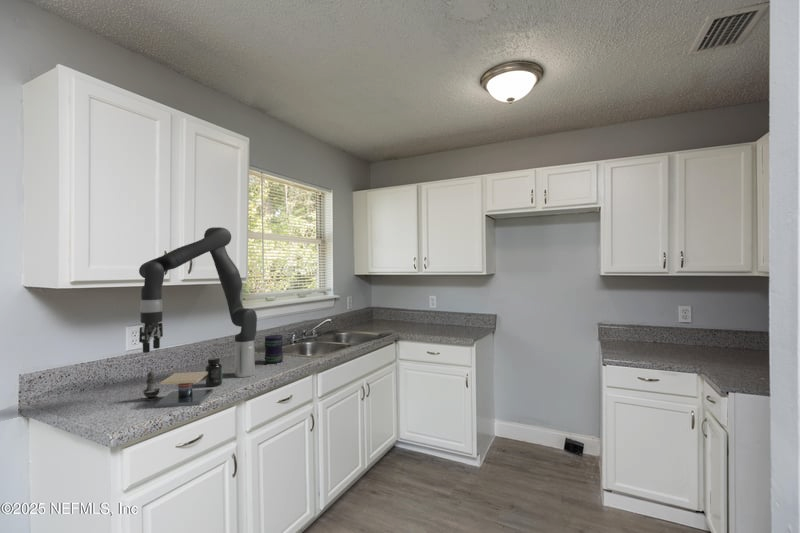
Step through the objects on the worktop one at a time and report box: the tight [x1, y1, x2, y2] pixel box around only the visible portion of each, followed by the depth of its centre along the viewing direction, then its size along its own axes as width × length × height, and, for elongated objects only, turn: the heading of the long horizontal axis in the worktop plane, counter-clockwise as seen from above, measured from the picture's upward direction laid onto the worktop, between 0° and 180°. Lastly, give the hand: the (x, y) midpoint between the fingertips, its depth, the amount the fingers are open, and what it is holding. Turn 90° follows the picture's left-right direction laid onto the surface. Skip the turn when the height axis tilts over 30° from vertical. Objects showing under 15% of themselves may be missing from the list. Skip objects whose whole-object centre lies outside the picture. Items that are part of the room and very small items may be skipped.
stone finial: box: [142, 369, 161, 402], centre depth 155 cm, size 6×6×12 cm
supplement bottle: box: [204, 357, 223, 388], centre depth 174 cm, size 7×7×12 cm
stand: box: [154, 371, 214, 408], centre depth 154 cm, size 16×16×9 cm
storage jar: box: [264, 334, 284, 365], centre depth 216 cm, size 10×10×15 cm
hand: (151, 350), depth 155 cm, fingers open, 8 cm apart
